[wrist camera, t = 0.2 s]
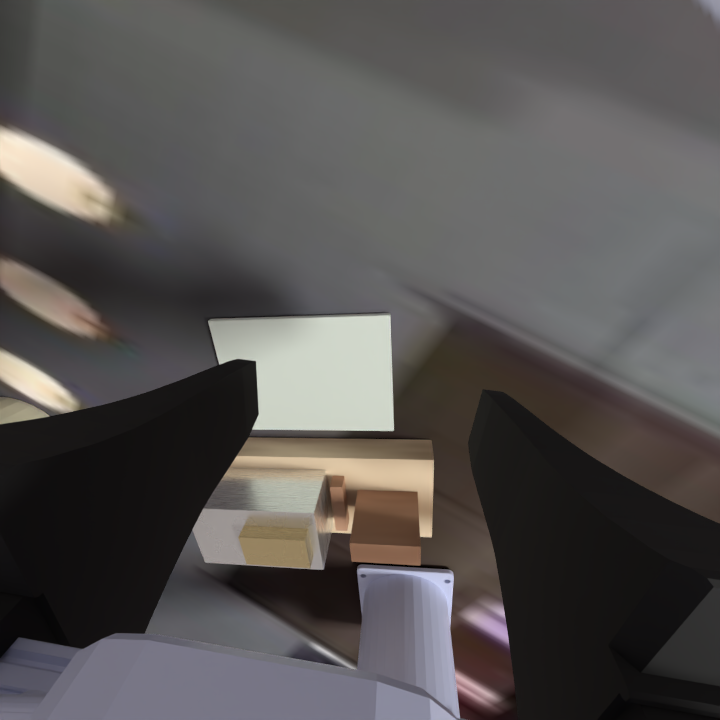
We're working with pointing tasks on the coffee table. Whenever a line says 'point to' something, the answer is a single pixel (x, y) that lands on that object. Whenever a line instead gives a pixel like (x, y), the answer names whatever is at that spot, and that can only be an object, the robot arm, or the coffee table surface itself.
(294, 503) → the brass-inlaid steel block
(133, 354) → the coffee table surface
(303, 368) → the felt pad
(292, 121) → the coffee table surface
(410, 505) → the hand plane
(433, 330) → the coffee table surface
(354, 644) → the coffee table surface
